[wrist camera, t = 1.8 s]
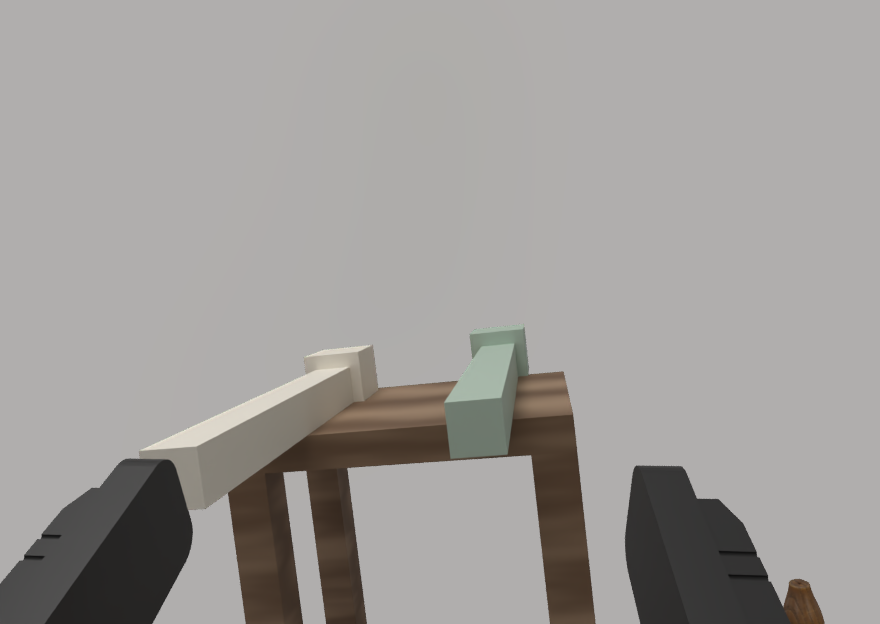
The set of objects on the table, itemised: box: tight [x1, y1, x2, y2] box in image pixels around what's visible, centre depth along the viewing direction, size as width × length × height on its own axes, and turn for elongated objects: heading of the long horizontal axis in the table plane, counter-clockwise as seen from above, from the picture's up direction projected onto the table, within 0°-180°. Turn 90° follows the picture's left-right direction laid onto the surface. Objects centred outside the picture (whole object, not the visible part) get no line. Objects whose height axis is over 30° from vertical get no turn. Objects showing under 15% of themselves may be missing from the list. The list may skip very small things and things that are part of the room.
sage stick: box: [444, 324, 529, 459], centre depth 39 cm, size 24×4×4 cm, turn 172°
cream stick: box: [139, 345, 378, 510], centre depth 37 cm, size 24×4×4 cm, turn 171°
